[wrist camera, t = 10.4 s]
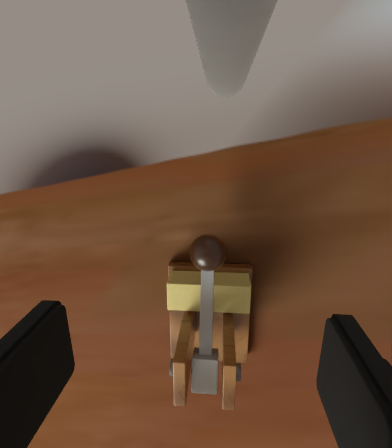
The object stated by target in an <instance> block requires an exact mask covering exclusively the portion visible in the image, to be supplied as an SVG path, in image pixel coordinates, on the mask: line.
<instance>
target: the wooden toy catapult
mask: <svg viewBox="0 0 392 448" xmlns="http://www.w3.org/2000/svg"><path fill="white" fill-rule="evenodd" d="M172 270H174V271H201V270H199V269H198V268H196V267H195V266H194V264H193V263H192V262H170V263H169V265H168V279H169V277H170V274H171V271H172ZM252 270H253V269H252V265H251V264H228V263H223V265H222V266H221V267H220V268H219V269H217V270H215V271H214V273H215V272H227V273H248V274H249V279H250V284H251V287H252ZM250 304H251V300H250ZM169 314H170V346H171V358H174V359H171V362H170V371H169V373H170V377H173V391H174V406H186V400H187V393H188V386H189V378H190V371H191V363H192V355H193V351H194V347H198V348H199V332H200V311H180V310H169ZM249 321H250V313H249V314H243V313H222V312H213V339H212V348H215V349H218V361H222V409H224V410H235V389H236V381H241V364H240V363H236V362H245V363H247V354H248V337H249Z"/></svg>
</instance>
